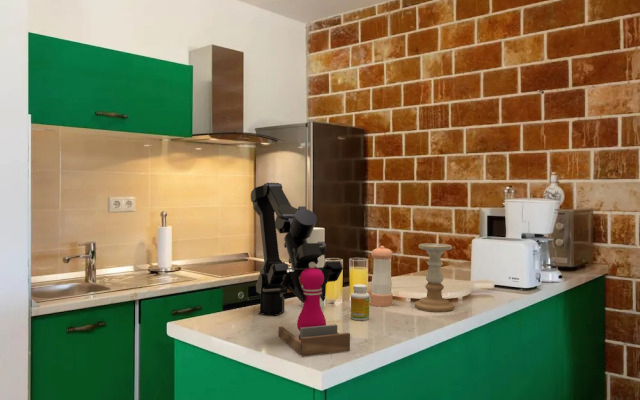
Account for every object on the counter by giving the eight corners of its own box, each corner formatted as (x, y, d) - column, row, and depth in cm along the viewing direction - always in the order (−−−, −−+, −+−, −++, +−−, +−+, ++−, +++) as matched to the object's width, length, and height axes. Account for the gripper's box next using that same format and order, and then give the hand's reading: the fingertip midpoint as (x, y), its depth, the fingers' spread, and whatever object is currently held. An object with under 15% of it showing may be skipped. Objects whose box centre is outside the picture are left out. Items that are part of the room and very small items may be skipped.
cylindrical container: (307, 309, 170) (308, 229, 170) (297, 305, 177) (298, 227, 176) (327, 307, 174) (328, 228, 173) (317, 303, 180) (318, 227, 179)
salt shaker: (366, 304, 178) (367, 246, 178) (376, 300, 184) (376, 244, 184) (386, 307, 174) (387, 247, 174) (396, 303, 181) (396, 245, 180)
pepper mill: (296, 338, 138) (296, 259, 138) (324, 337, 139) (325, 259, 138) (297, 346, 131) (298, 263, 131) (327, 346, 132) (328, 263, 131)
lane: (278, 336, 140) (278, 320, 140) (321, 331, 145) (321, 316, 145) (302, 356, 124) (302, 338, 124) (349, 350, 129) (350, 333, 128)
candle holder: (451, 313, 167) (452, 248, 166) (411, 310, 171) (412, 246, 171) (456, 305, 178) (457, 244, 178) (418, 302, 183) (419, 242, 182)
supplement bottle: (367, 321, 157) (368, 287, 156) (349, 320, 158) (349, 286, 157) (370, 316, 162) (370, 284, 162) (352, 315, 163) (352, 283, 163)
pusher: (300, 348, 129) (300, 327, 129) (335, 344, 133) (335, 324, 133) (301, 349, 128) (301, 328, 128) (337, 345, 132) (337, 325, 132)
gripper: (271, 231, 134) (285, 283, 125) (340, 229, 142) (358, 279, 132) (262, 259, 142) (274, 310, 132) (328, 256, 149) (344, 305, 139)
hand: (313, 300), depth 134 cm, fingers closed on pepper mill, 5 cm apart
